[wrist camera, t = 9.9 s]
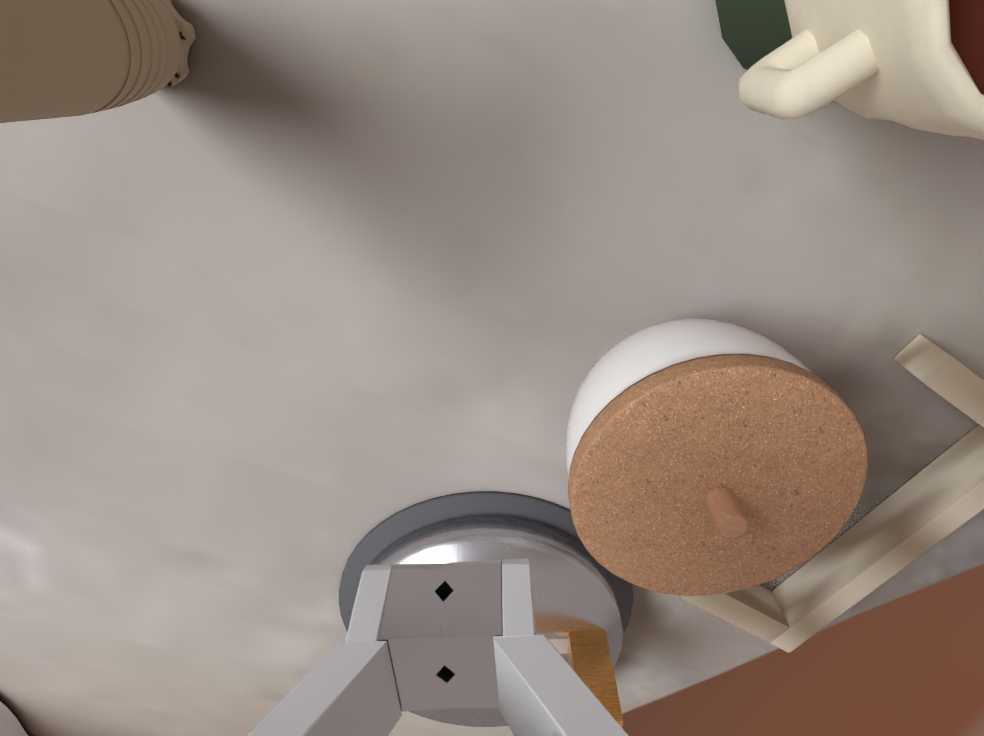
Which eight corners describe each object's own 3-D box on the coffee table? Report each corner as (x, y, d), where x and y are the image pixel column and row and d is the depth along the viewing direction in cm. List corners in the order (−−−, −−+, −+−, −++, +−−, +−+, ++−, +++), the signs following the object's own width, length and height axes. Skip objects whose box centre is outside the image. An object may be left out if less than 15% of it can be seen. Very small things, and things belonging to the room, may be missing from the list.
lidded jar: (746, 482, 32) (834, 639, 24) (540, 471, 32) (557, 626, 23) (811, 288, 27) (953, 403, 19) (567, 272, 27) (601, 382, 18)
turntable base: (522, 725, 42) (522, 729, 42) (291, 632, 37) (289, 637, 37) (692, 574, 35) (694, 578, 35) (436, 439, 31) (435, 443, 30)
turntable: (371, 698, 39) (349, 821, 33) (337, 518, 32) (301, 633, 26) (607, 693, 39) (629, 816, 33) (626, 512, 32) (659, 626, 26)
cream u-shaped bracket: (770, 615, 37) (789, 653, 35) (669, 562, 35) (681, 598, 32) (1026, 415, 30) (1069, 445, 28) (919, 333, 28) (956, 359, 26)
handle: (267, 44, 22) (-51, 64, 9) (145, 147, 24) (-272, 291, 11) (165, -94, 20) (-428, -321, 7) (40, 30, 22) (-625, 28, 9)
